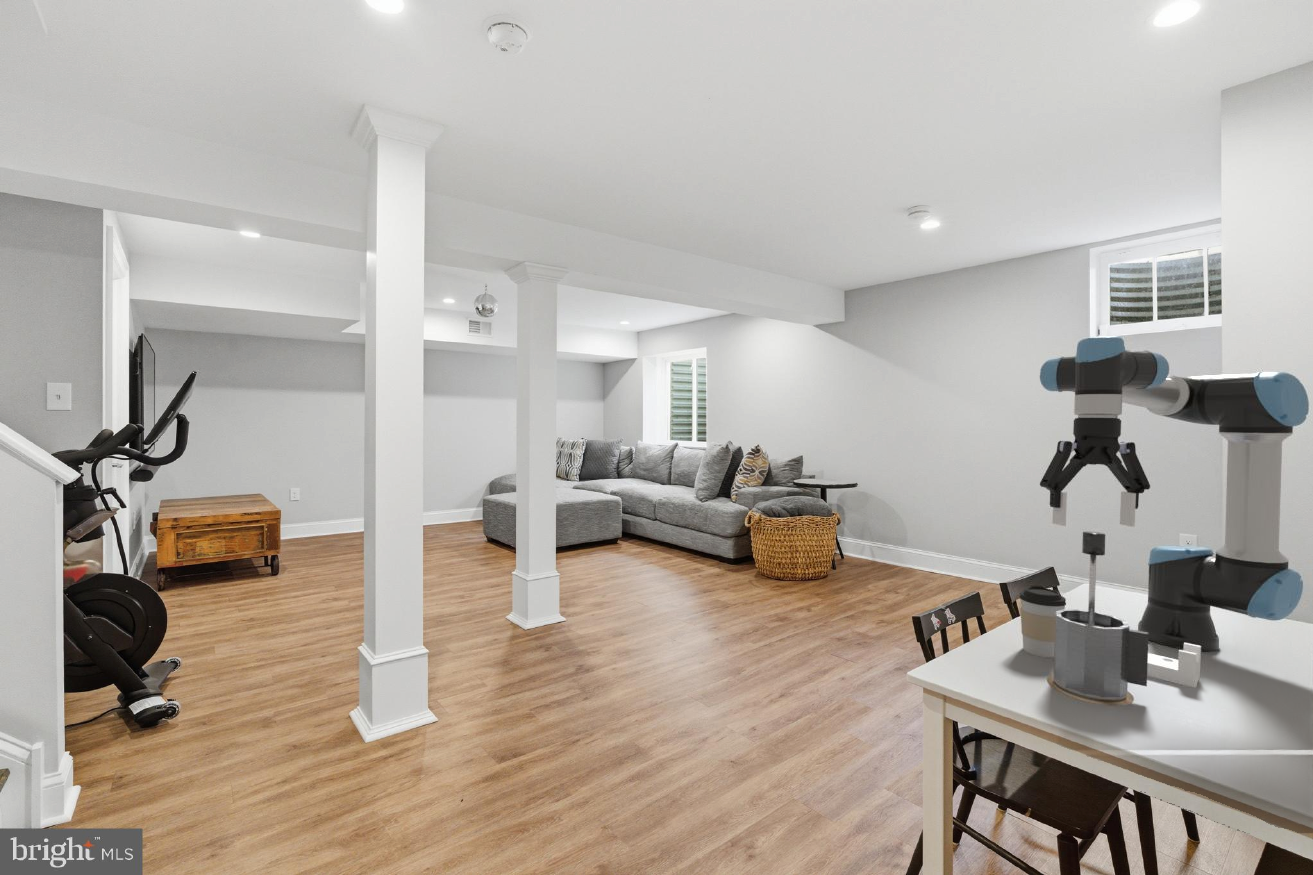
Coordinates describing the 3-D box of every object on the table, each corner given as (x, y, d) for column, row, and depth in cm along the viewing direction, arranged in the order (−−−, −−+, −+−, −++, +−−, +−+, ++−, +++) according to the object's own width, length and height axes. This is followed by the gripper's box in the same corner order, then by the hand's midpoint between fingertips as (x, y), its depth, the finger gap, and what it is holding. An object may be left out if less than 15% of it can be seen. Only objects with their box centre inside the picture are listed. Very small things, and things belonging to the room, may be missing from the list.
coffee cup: (1072, 663, 133) (1074, 596, 133) (1027, 659, 135) (1029, 593, 135) (1053, 648, 142) (1055, 585, 142) (1011, 645, 144) (1013, 582, 143)
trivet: (1097, 676, 127) (1097, 673, 127) (1153, 708, 113) (1153, 705, 113) (1031, 676, 126) (1031, 673, 126) (1079, 708, 112) (1079, 705, 112)
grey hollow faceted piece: (1102, 675, 126) (1105, 609, 125) (1150, 702, 114) (1153, 629, 113) (1040, 675, 125) (1042, 609, 125) (1081, 702, 113) (1083, 629, 113)
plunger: (1095, 626, 123) (1098, 529, 123) (1126, 640, 115) (1130, 537, 115) (1057, 626, 123) (1059, 529, 122) (1085, 640, 115) (1089, 537, 114)
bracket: (1199, 681, 125) (1201, 645, 125) (1194, 691, 120) (1195, 654, 120) (1122, 662, 135) (1123, 629, 135) (1114, 671, 130) (1115, 636, 130)
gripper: (1144, 418, 122) (1139, 522, 122) (1022, 416, 121) (1018, 520, 122) (1176, 417, 114) (1172, 529, 115) (1047, 415, 114) (1043, 527, 114)
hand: (1093, 525), depth 118 cm, fingers open, 13 cm apart
